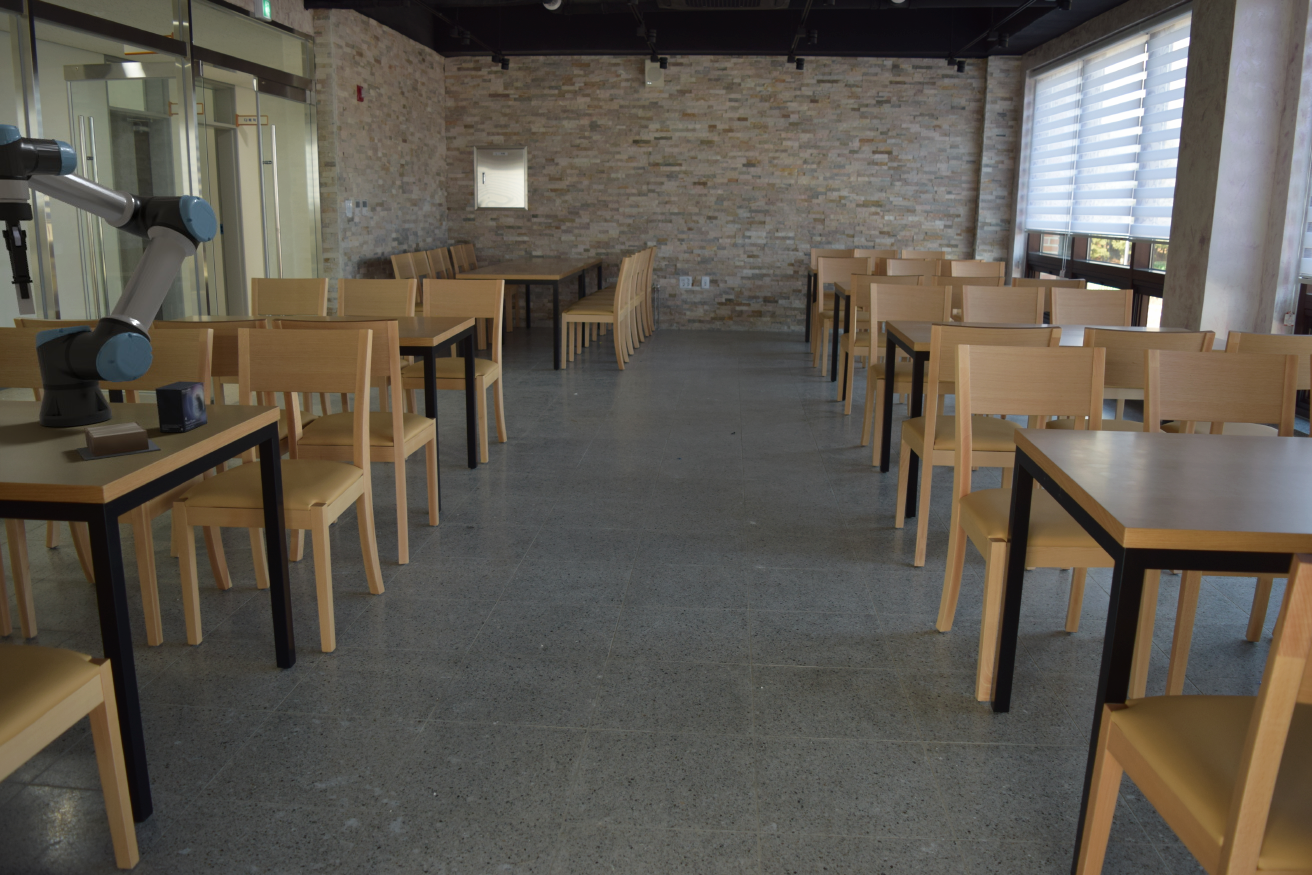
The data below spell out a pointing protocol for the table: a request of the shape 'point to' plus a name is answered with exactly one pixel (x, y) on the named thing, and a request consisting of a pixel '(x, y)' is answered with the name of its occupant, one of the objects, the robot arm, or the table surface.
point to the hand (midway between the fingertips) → (27, 314)
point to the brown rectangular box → (116, 439)
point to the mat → (89, 455)
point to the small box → (181, 406)
